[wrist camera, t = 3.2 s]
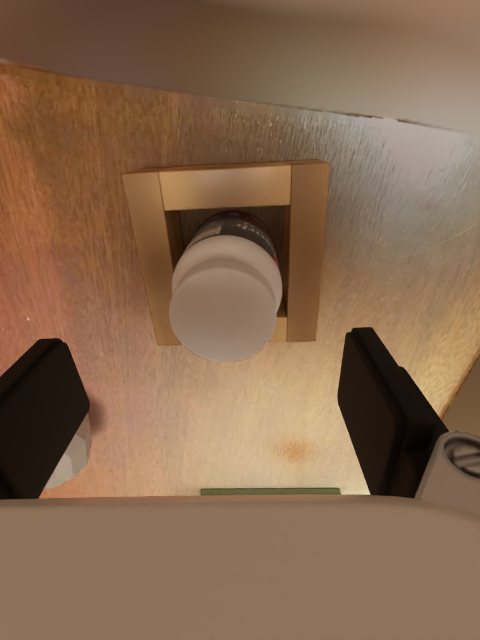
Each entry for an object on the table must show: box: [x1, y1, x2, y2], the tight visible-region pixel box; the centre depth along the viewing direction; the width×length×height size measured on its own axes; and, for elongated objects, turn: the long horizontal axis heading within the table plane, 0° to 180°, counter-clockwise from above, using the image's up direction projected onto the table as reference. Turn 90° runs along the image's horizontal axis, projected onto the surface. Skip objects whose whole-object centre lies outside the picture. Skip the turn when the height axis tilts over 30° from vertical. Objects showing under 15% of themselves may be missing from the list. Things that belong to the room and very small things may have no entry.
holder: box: [121, 159, 331, 345], centre depth 21 cm, size 11×11×4 cm
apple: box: [44, 413, 92, 489], centre depth 27 cm, size 8×8×7 cm
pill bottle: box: [169, 211, 282, 362], centre depth 18 cm, size 6×6×10 cm
